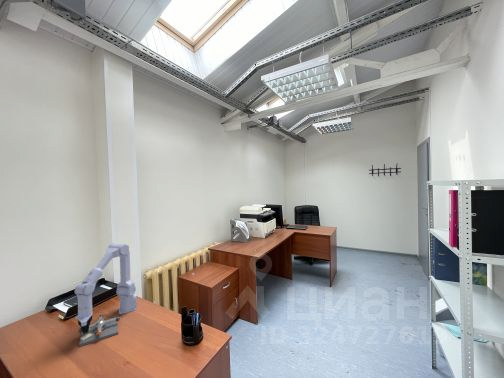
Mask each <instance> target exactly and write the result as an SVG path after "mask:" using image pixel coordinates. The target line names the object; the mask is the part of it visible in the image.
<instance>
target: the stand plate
mask: <svg viewBox="0 0 504 378" xmlns="http://www.w3.org/2000/svg"><path fill="white" fill-rule="evenodd" d="M117 317H118V316H115V317H111V318H107V319H105V321H107V320H110V319H114V318H117ZM93 324H95V322H94V323H90V325H93ZM118 324H119V321H116V322H113V323H110V324H106V327H105V329H104V330H102V334H101V335H99V336H98V335H97V334H96V333H91V329H90V330H89V331H88V333H85V334H83V333H82V332H81V335H80V339H79V343H78V346H79V348H80V347H83V346H86V345H90V344H92V343H95V342H99V341H101V340H104V339H107V338H111V337H113V336H117V335H119V325H118ZM90 325H89V326H90Z"/></svg>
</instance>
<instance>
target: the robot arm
mask: <svg viewBox="0 0 504 378" xmlns="http://www.w3.org/2000/svg"><path fill="white" fill-rule="evenodd" d="M118 257H119V269H120V270H119V272H120V273H119V275H120V282H118V283H117V288H116V295H117V296H118V298H119V307H118V315H123V314H126V313H127V314H128V313H129V312H133V311H137V309H138V307H137V305H138V302H137V300H138V299H137V293H136V289H137V287H136V286H135V282H134V281H133V280H132V279H131V252H130V246H129V244H127V243H113V242H112V243H110V244H109V245H108V246H107V248H106V249H105V254H104V255H103V257H102V258H101V260H100V261H99V263H98V264H97V266H96V267H94V268H92V269H91V270H90V271H89V273H88V274H87V275H86V277H85V278H84V280H82V282H80V283H78V284H77V285H76V287H75V290H74V294H75V295H76V298H77V315H76V316H75V319H74V320H77V324H78V326H79V328H81V329H82V332H81V334H82V333H83V334H85V333H88V331H89V325H90V324H91V322H92V320H93V313H94V312H93V292H94V291H95V290H96V289H95V288H96V285H97V283H98V281H99V279H100V278H101V277H102V276H103V273H104V272H103V270H104V269H105V268H106V267H107V265H108V264H110V262H111V261H112V259H115V258H118Z"/></svg>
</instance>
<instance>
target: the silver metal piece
mask: <svg viewBox="0 0 504 378" xmlns="http://www.w3.org/2000/svg"><path fill="white" fill-rule="evenodd" d="M97 317H98V320H96V321H95V322H94V323H95V324H94V323H92V324H93V325H90V326H89V330H90V329H91V333H96V334H97V335H98V336H99V335H101V334H102V330H104V329H105V327H106V324H110V323H113V322H116V321H118V322H119V321H120V320H121V318H120V316H116V317H117V318H114V317H113V318H114V319H111V318H109V319H110V320H108V319H104V315H103V314H99V315H98V316H97ZM105 320H107V321H105ZM77 332H78V333H81V334H82V329H81V327H79V328H78V331H77Z"/></svg>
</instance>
